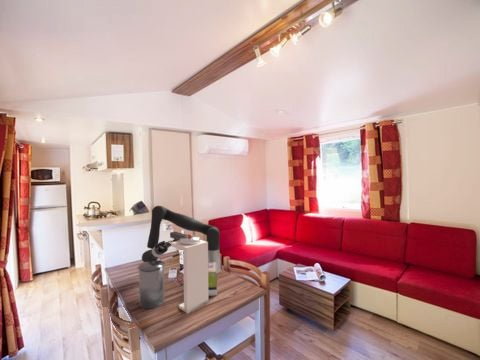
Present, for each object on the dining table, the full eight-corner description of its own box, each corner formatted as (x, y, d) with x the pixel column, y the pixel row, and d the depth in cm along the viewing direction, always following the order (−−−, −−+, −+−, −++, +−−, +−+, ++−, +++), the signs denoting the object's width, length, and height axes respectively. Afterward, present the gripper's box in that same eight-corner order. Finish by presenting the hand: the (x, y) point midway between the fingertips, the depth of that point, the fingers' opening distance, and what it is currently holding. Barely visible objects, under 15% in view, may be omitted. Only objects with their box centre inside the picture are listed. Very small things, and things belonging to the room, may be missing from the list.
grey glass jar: (162, 293, 136) (162, 259, 136) (166, 305, 124) (166, 267, 124) (138, 299, 130) (137, 263, 130) (139, 312, 118) (139, 272, 118)
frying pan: (179, 256, 203) (179, 249, 203) (185, 260, 192) (185, 253, 192) (141, 265, 183) (141, 257, 183) (146, 270, 173) (146, 261, 173)
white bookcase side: (171, 302, 126) (171, 242, 126) (192, 293, 137) (191, 237, 136) (187, 313, 116) (186, 247, 116) (208, 302, 127) (207, 241, 126)
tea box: (201, 284, 148) (201, 262, 148) (217, 284, 149) (217, 261, 148) (199, 296, 133) (199, 271, 133) (217, 296, 134) (216, 271, 133)
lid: (164, 238, 134) (164, 231, 134) (180, 235, 142) (180, 228, 142) (187, 246, 118) (187, 238, 118) (204, 242, 126) (203, 234, 126)
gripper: (171, 252, 153) (182, 243, 143) (150, 257, 142) (161, 249, 133) (168, 241, 155) (179, 232, 145) (147, 246, 145) (158, 237, 135)
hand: (170, 240), depth 139 cm, fingers open, 8 cm apart
